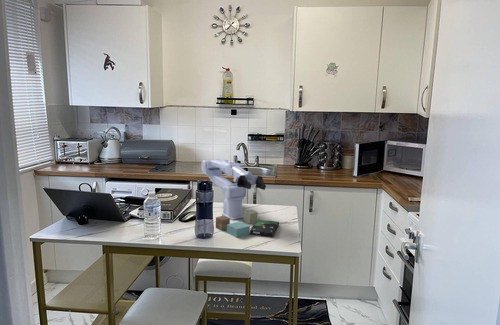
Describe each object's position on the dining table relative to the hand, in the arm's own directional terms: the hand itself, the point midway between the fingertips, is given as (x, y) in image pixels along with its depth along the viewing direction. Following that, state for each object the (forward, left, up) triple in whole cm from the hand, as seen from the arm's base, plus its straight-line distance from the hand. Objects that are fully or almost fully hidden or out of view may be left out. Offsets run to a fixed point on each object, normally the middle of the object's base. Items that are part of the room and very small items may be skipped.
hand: (257, 187), depth 166 cm
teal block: (-1, -9, -20) cm, 22 cm away
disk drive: (+3, +3, -20) cm, 21 cm away
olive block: (-10, +5, -20) cm, 22 cm away
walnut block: (-10, -11, -20) cm, 25 cm away
